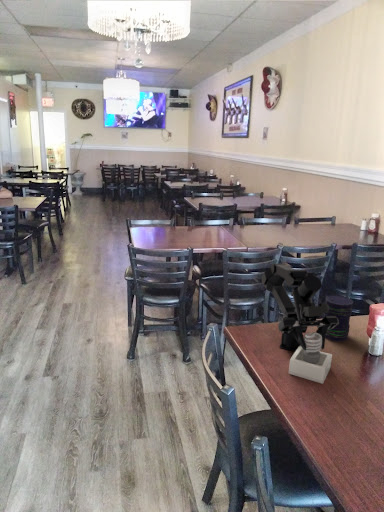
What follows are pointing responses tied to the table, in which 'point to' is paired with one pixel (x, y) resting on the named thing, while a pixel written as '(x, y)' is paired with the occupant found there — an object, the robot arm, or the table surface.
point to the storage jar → (339, 317)
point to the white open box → (310, 366)
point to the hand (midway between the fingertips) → (314, 349)
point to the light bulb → (312, 348)
